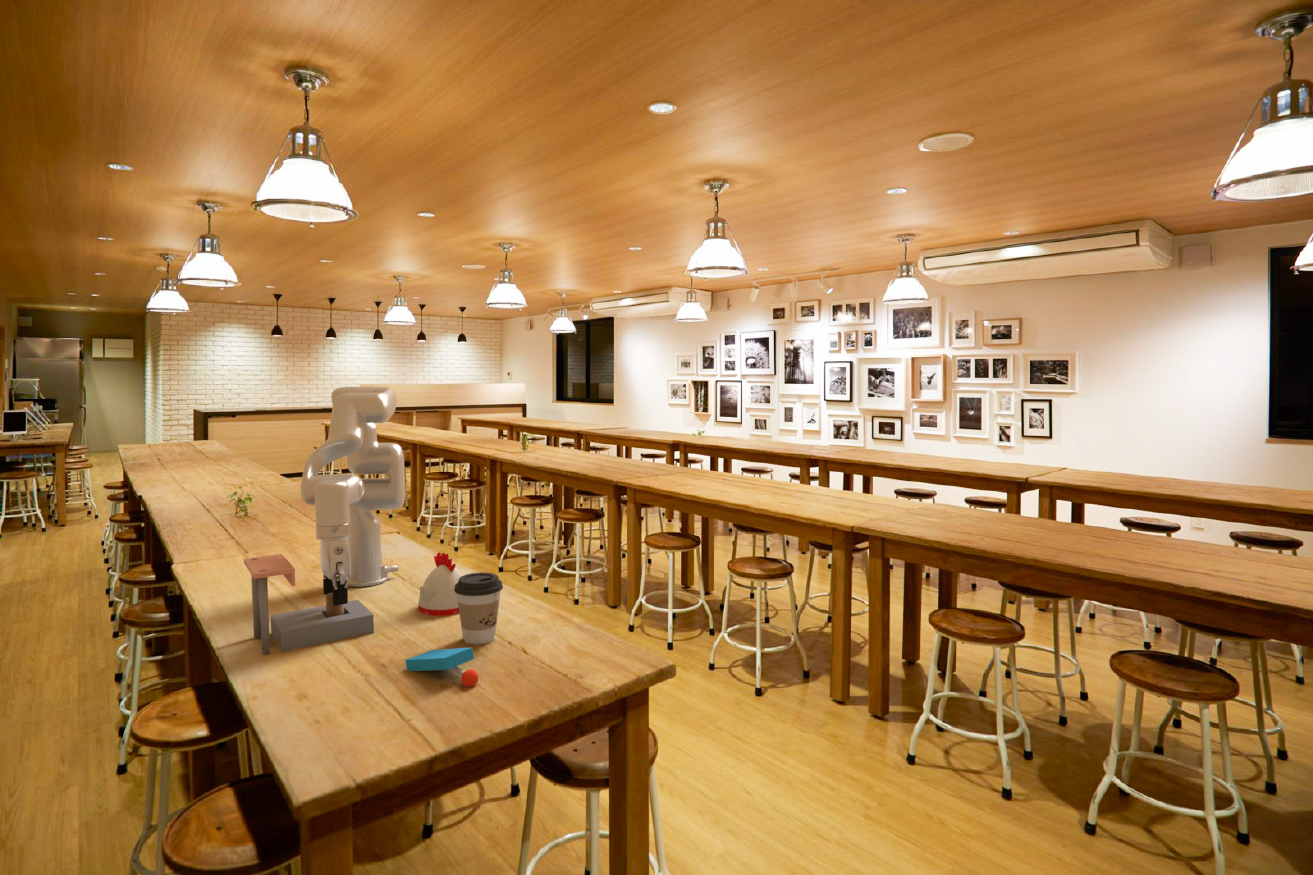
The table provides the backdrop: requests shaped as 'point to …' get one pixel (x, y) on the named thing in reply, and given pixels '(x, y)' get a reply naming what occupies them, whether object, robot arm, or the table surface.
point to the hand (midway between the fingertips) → (335, 598)
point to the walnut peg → (333, 607)
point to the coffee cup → (478, 606)
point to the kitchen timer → (440, 588)
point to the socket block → (320, 626)
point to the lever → (445, 663)
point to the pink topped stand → (265, 591)
